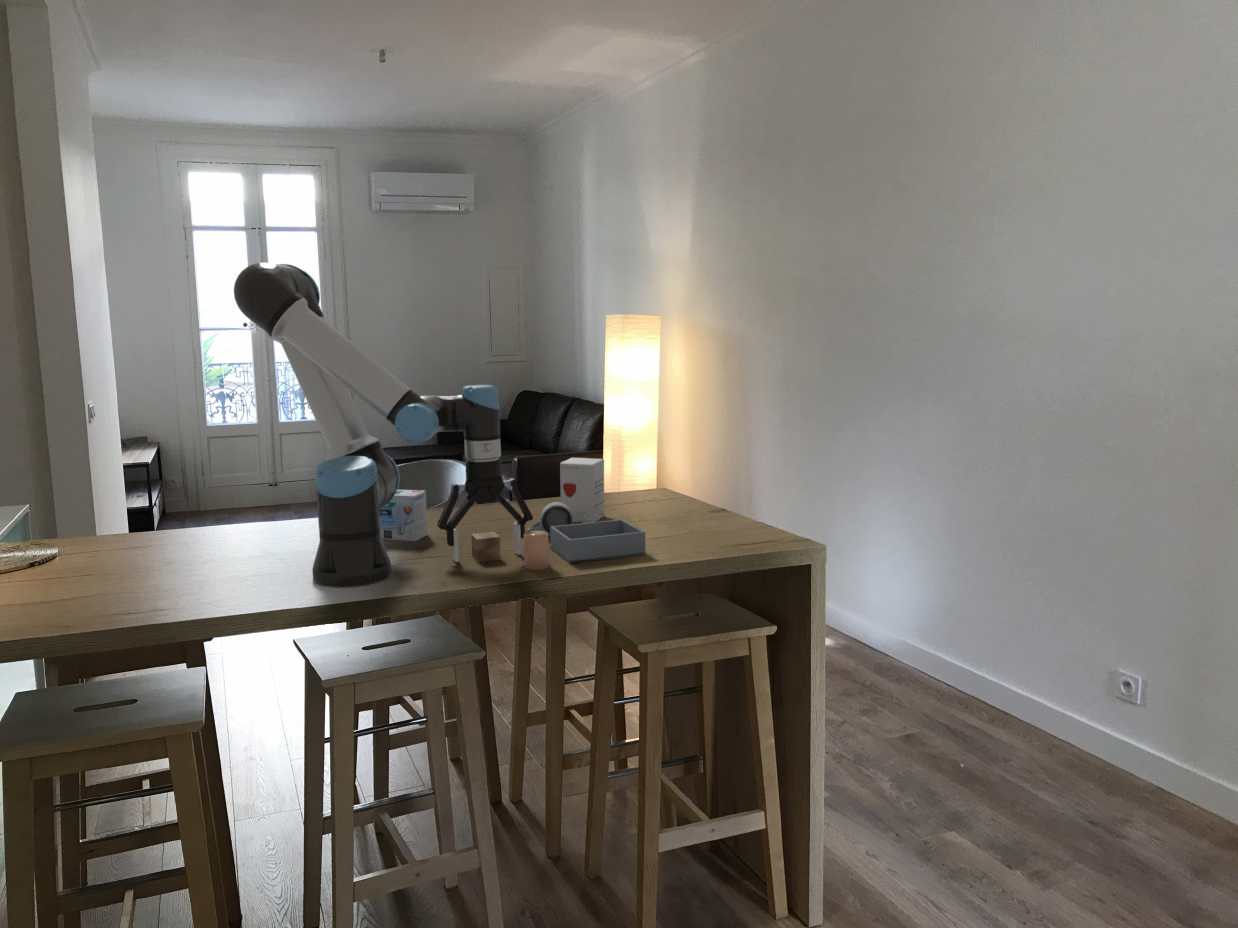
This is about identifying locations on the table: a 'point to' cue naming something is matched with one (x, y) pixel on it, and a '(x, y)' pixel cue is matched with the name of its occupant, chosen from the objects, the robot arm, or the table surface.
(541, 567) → the glossy tan capsule
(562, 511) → the ceramic mug
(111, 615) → the table surface
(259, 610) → the table surface
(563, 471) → the supplement box
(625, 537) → the tote
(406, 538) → the light bulb box
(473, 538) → the walnut cube
